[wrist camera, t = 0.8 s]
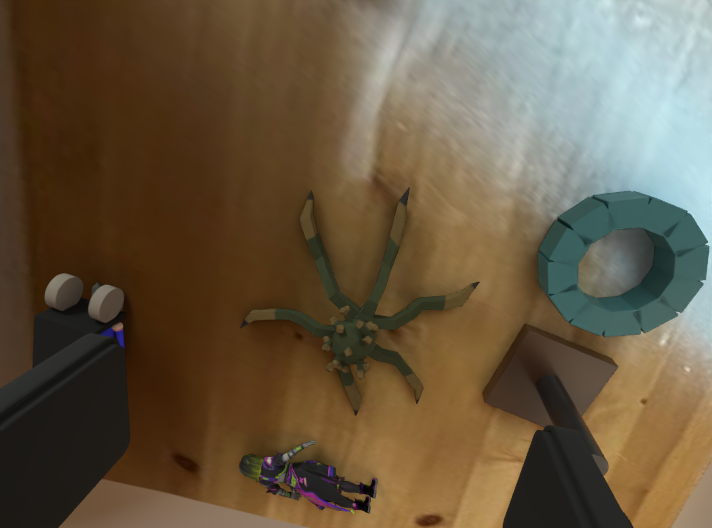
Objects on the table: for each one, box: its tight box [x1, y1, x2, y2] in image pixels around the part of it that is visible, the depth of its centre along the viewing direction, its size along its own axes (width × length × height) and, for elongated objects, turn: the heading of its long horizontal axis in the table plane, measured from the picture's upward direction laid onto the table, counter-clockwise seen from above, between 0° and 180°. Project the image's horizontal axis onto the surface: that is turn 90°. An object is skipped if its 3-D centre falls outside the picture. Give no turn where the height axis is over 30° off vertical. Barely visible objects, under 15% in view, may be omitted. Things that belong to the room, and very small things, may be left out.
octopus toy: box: [240, 187, 479, 416], centre depth 37 cm, size 25×20×9 cm
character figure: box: [239, 441, 377, 514], centre depth 47 cm, size 9×4×16 cm
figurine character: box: [33, 273, 126, 368], centre depth 43 cm, size 7×8×15 cm
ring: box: [538, 191, 709, 337], centre depth 35 cm, size 12×12×3 cm
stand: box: [482, 324, 618, 476], centre depth 35 cm, size 9×9×12 cm
